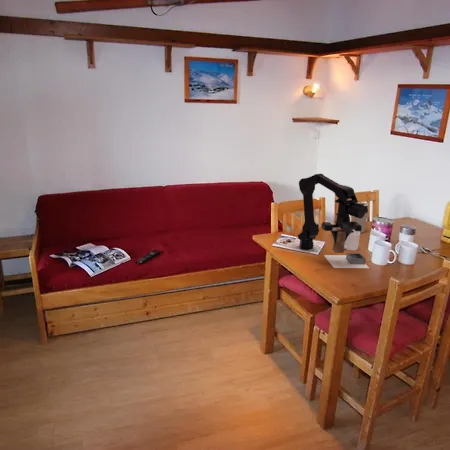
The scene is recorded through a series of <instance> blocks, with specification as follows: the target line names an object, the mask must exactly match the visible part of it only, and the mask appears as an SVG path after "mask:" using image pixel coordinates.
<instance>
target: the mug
mask: <svg viewBox="0 0 450 450" xmlns="http://www.w3.org/2000/svg"><path fill="white" fill-rule="evenodd" d="M353 231H354V232H353V233H350V234H349V236H348V237H347V239H346V241H345V245H344V250H348V251H351V252H352V251H357V250H358V248H359V243H360V237H361V233H360V232H359V231H355V230H353Z"/></svg>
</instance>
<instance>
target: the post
mask: <svg viewBox="0 0 450 450" xmlns="http://www.w3.org/2000/svg"><path fill="white" fill-rule="evenodd" d="M337 231H338V232H337V237H336V243H334V242H333V246H332V250H333V252H334V253H335V254H343V253H344V250H345V249H344V245H345V238H346V232H342V231H341V228H337Z"/></svg>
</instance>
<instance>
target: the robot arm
mask: <svg viewBox="0 0 450 450" xmlns="http://www.w3.org/2000/svg"><path fill="white" fill-rule="evenodd" d="M318 184H319V185H321V186H323V187H325V188H326V189H328V190H329V191H331V192H333V193H334V195H335V197H337V199H335V200H334V203H336V204H338V205H337V213H335V215H336V220H335V221H334V223H335V224H332V223H331V222H329V221H323V222H322V223H321V225H319V224H318V223H316V222H315V215H314V213H315V212H314V211H315V210H314V198H313V196H314V195H313V194H314V193H315V192H314V191H315V190H316V185H318ZM298 188H299V192H300V193H301V194H302V196H303V197H302V199H303V201H302V202H303V214H304V223H303V225H302V228H301V229H302V230H301V232H300V233H299V234H297V239H298V240H299V246H298V247H299V248H300V249H301V250H305V251H308V250H313V249H314V240H315V239H316V238H317V236H318V235H319V232H320V229H319V228H321V229H322V230H323V231H324V232H331V235H332V239H333V244H334V243H336V237H337V232H338V231H337V229H341V231H342V232H346V238H345V241H346V239H347V237H348V236H349V234H350V233H353V232H354V231H353V229H354V230H355V231H361V230H362V226H361V225H360V224H358V223H356V222H353V221H351V217H357V218H360V219H361V218H363V217H364V215H365V212H366V211H365V207H364V204H360V203H358V202H359V201H358V198H357V196H356V194H355V190H354V188H353V187H351V186H348V185H343V184H340V183H338V182H336V181H334V180H333V179H331V178H329V177H327V176H325V175H324V173H315V174H313V175H311V176H309V177H308V176H307V177H305V178H301V179H300V180H299V181H298ZM319 226H321V227H319Z"/></svg>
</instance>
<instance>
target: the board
mask: <svg viewBox="0 0 450 450" xmlns="http://www.w3.org/2000/svg"><path fill="white" fill-rule="evenodd" d="M346 255H347V254H344V255H343V254H323V256H324V257H325V259H326V260H327V261H328V262H329V264H330V265H331V266H332V267H333V268H334V269H370V267H369V266H368V265H367V264H366V263H365V264H350V262H349V261H348V260H347V259H346Z"/></svg>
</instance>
